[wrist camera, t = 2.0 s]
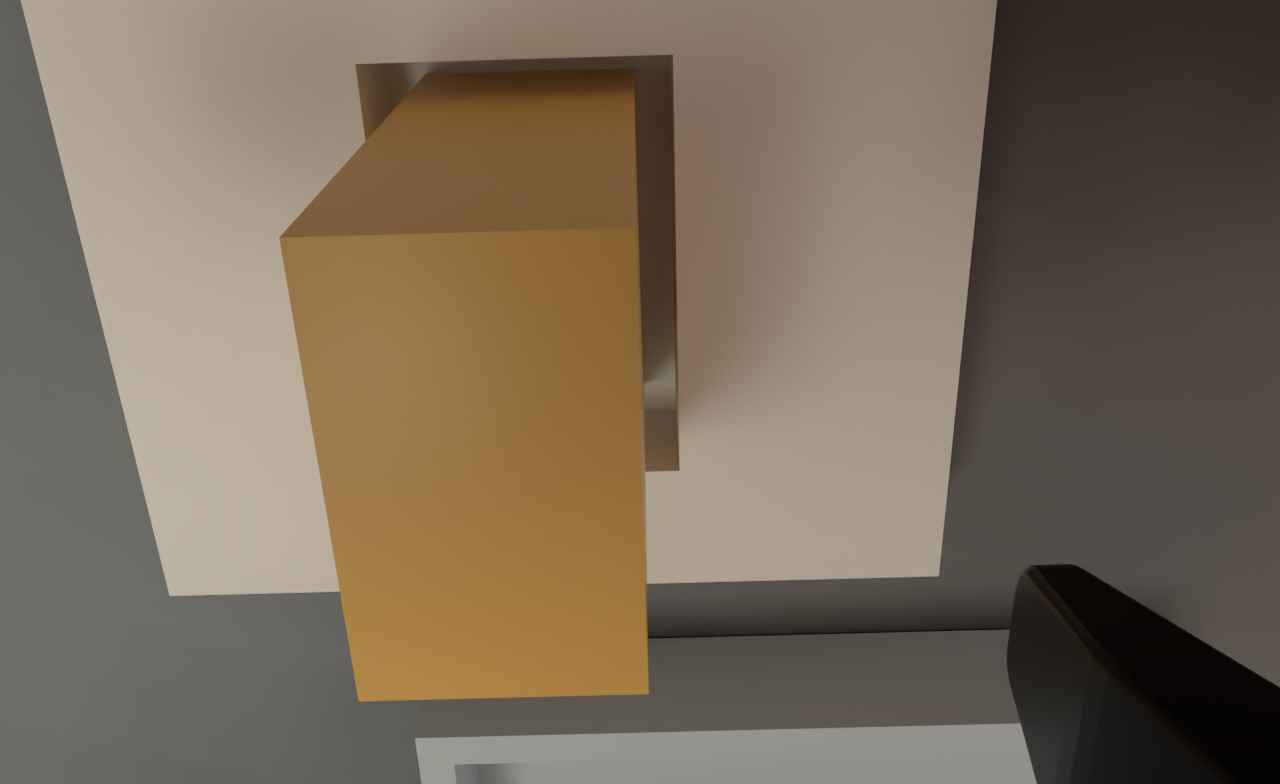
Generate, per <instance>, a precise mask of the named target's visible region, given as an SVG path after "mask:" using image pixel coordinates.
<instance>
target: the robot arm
mask: <svg viewBox="0 0 1280 784" xmlns="http://www.w3.org/2000/svg"><path fill="white" fill-rule="evenodd" d="M1007 672H1008V678H1009V683H1010V687H1011V690H1012V694H1013V698H1014V702H1015V705H1016V709H1017V713H1018V716H1019V720H1020V724H1021V727H1022V731H1023V735H1024V739H1025V742H1026V746H1027V750H1028V753H1029V757H1030V761H1031V764H1032V768H1033V772H1034V776H1035V779H1036V783H1037V784H1280V687H1278V686H1276V685H1275V684H1273V683H1271V682H1270V681H1268V680H1266V679H1265V678H1263V677H1261V676H1260V675H1258V674H1256V673H1255V672H1253V671H1252V670H1250V669H1248V668H1247V667H1245V666H1243V665H1242V664H1240V663H1238V662H1237V661H1235V660H1233V659H1232V658H1230V657H1228V656H1227V655H1225V654H1223V653H1222V652H1220V651H1218V650H1217V649H1215V648H1213V647H1212V646H1210V645H1208V644H1207V643H1205V642H1203V641H1202V640H1200V639H1198V638H1197V637H1195V636H1193V635H1192V634H1190V633H1188V632H1187V631H1185V630H1183V629H1182V628H1180V627H1178V626H1177V625H1175V624H1174V623H1172V622H1170V621H1169V620H1167V619H1165V618H1164V617H1162V616H1160V615H1159V614H1157V613H1155V612H1154V611H1152V610H1150V609H1149V608H1147V607H1145V606H1144V605H1142V604H1140V603H1139V602H1137V601H1135V600H1134V599H1132V598H1130V597H1129V596H1127V595H1125V594H1124V593H1122V592H1120V591H1119V590H1117V589H1115V588H1114V587H1112V586H1110V585H1109V584H1107V583H1105V582H1104V581H1102V580H1100V579H1099V578H1097V577H1095V576H1094V575H1092V574H1091V573H1089V572H1087V571H1086V570H1084V569H1082V568H1080V567H1078V566H1076V565H1071V564H1059V565H1030V566H1026V567H1025V568H1024V569H1023V570H1022V571H1021V572H1020V574H1019V576H1018V578H1017V581H1016V587H1015V594H1014V601H1013V609H1012V616H1011V623H1010V631H1009V638H1008V645H1007Z"/></svg>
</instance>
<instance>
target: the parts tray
mask: <svg viewBox="0 0 1280 784" xmlns="http://www.w3.org/2000/svg"><path fill="white" fill-rule="evenodd" d="M1009 631H1010V630H973V631H933V632H893V633H854V634H814V635H774V636H734V637H694V638H655V639H648V676H649V694H638V695H597V696H557V697H516V698H476V699H435V700H424V703H423V707H422V711H421V715H420V719H419V723H418V727H417V731H416V736H415V743H416V750H417V756H418V763H419V770H420V777H421V783H422V784H1037V783H1036V779H1035V776H1034V772H1033V768H1032V764H1031V761H1030V757H1029V753H1028V750H1027V746H1026V742H1025V739H1024V735H1023V731H1022V727H1021V724H1020V720H1019V716H1018V713H1017V709H1016V705H1015V702H1014V698H1013V694H1012V690H1011V687H1010V683H1009V678H1008V672H1007V645H1008V638H1009Z"/></svg>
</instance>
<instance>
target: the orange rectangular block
mask: <svg viewBox="0 0 1280 784" xmlns="http://www.w3.org/2000/svg"><path fill="white" fill-rule="evenodd" d="M279 240H280V246H281V252H282V258H283V263H284V269H285V275H286V281H287V287H288V292H289V298H290V304H291V310H292V316H293V322H294V327H295V333H296V339H297V345H298V351H299V356H300V362H301V368H302V374H303V380H304V386H305V391H306V397H307V403H308V409H309V415H310V420H311V426H312V432H313V438H314V444H315V450H316V455H317V461H318V467H319V473H320V479H321V485H322V490H323V496H324V502H325V508H326V514H327V519H328V525H329V531H330V537H331V543H332V549H333V554H334V560H335V566H336V572H337V578H338V583H339V589H340V595H341V601H342V607H343V613H344V618H345V624H346V630H347V636H348V642H349V647H350V653H351V659H352V665H353V671H354V677H355V682H356V688H357V694H358V700H359V701H395V700H435V699H476V698H516V697H557V696H597V695H638V694H649V676H648V610H647V544H646V478H645V412H644V365H643V331H642V298H641V264H640V231H639V197H638V164H637V131H636V97H635V68H616V69H582V70H548V71H515V72H481V73H448V74H425V75H424V76H423V77H422V79H421V80H420V81H419V82H418V83H417V84H416V85H415V86H414V88H413V89H412V90H411V91H410V92H409V93H408V94H407V95H406V96H405V98H404V99H403V100H402V101H401V102H400V103H399V104H398V105H397V107H396V108H395V109H394V110H393V111H392V112H391V113H390V114H389V115H388V117H387V118H386V119H385V120H384V121H383V122H382V123H381V124H380V126H379V127H378V128H377V129H376V130H375V131H374V132H373V133H372V134H371V136H370V137H369V138H368V139H367V140H366V141H365V142H364V143H363V145H362V146H361V147H360V148H359V149H358V150H357V151H356V152H355V153H354V155H353V156H352V157H351V158H350V159H349V160H348V161H347V162H346V164H345V165H344V166H343V167H342V168H341V169H340V170H339V171H338V172H337V174H336V175H335V176H334V177H333V178H332V179H331V180H330V181H329V183H328V184H327V185H326V186H325V187H324V188H323V189H322V190H321V191H320V193H319V194H318V195H317V196H316V197H315V198H314V199H313V200H312V202H311V203H310V204H309V205H308V206H307V207H306V208H305V209H304V210H303V212H302V213H301V214H300V215H299V216H298V217H297V218H296V219H295V221H294V222H293V223H292V224H291V225H290V226H289V227H288V228H287V229H286V231H285V232H284V233H283V234H282V235H281V236H280V237H279Z"/></svg>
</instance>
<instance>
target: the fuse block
mask: <svg viewBox="0 0 1280 784" xmlns="http://www.w3.org/2000/svg"><path fill="white" fill-rule="evenodd" d="M21 3H22V7H23V11H24V15H25V19H26V23H27V27H28V31H29V35H30V39H31V43H32V47H33V51H34V55H35V59H36V63H37V67H38V71H39V75H40V79H41V83H42V87H43V91H44V95H45V99H46V103H47V107H48V111H49V115H50V119H51V123H52V127H53V131H54V135H55V139H56V143H57V147H58V151H59V155H60V159H61V163H62V167H63V171H64V175H65V179H66V183H67V187H68V191H69V195H70V199H71V203H72V207H73V211H74V215H75V219H76V223H77V227H78V231H79V235H80V239H81V243H82V247H83V251H84V255H85V259H86V263H87V267H88V271H89V275H90V279H91V283H92V287H93V291H94V295H95V299H96V303H97V307H98V311H99V315H100V319H101V323H102V327H103V331H104V335H105V339H106V343H107V347H108V351H109V355H110V359H111V363H112V367H113V371H114V375H115V379H116V383H117V387H118V391H119V395H120V399H121V403H122V407H123V411H124V415H125V419H126V423H127V427H128V431H129V435H130V439H131V443H132V447H133V451H134V455H135V459H136V463H137V467H138V471H139V475H140V479H141V483H142V487H143V491H144V495H145V499H146V503H147V507H148V511H149V515H150V519H151V523H152V527H153V531H154V535H155V539H156V543H157V547H158V551H159V555H160V559H161V563H162V567H163V571H164V575H165V579H166V583H167V587H168V591H169V595H170V596H186V595H225V594H264V593H303V592H340V589H339V583H338V578H337V572H336V566H335V560H334V554H333V549H332V543H331V537H330V531H329V525H328V519H327V514H326V508H325V502H324V496H323V490H322V485H321V479H320V473H319V467H318V461H317V455H316V450H315V444H314V438H313V432H312V426H311V420H310V415H309V409H308V403H307V397H306V391H305V386H304V380H303V374H302V368H301V362H300V356H299V351H298V345H297V339H296V333H295V327H294V322H293V316H292V310H291V304H290V298H289V292H288V287H287V281H286V275H285V269H284V263H283V258H282V252H281V246H280V240H279V237H280V236H281V235H282V234H283V233H284V232H285V231H286V229H287V228H288V227H289V226H290V225H291V224H292V223H293V222H294V221H295V219H296V218H297V217H298V216H299V215H300V214H301V213H302V212H303V210H304V209H305V208H306V207H307V206H308V205H309V204H310V203H311V202H312V200H313V199H314V198H315V197H316V196H317V195H318V194H319V193H320V191H321V190H322V189H323V188H324V187H325V186H326V185H327V184H328V183H329V181H330V180H331V179H332V178H333V177H334V176H335V175H336V174H337V172H338V171H339V170H340V169H341V168H342V167H343V166H344V165H345V164H346V162H347V161H348V160H349V159H350V158H351V157H352V156H353V155H354V153H355V152H356V151H357V150H358V149H359V148H360V147H361V146H362V145H363V143H364V142H365V141H366V140H367V139H368V138H369V137H370V136H371V134H372V133H373V132H374V131H375V130H376V129H377V128H378V127H379V126H380V124H381V123H382V122H383V121H384V120H385V119H386V118H387V117H388V115H389V114H390V113H391V112H392V111H393V110H394V109H395V108H396V107H397V105H398V104H399V103H400V102H401V101H402V100H403V99H404V98H405V96H406V95H407V94H408V93H409V92H410V91H411V90H412V89H413V88H414V86H415V85H416V84H417V83H418V82H419V81H420V80H421V79H422V77H423V76H424V75H425V74H448V73H481V72H515V71H548V70H582V69H616V68H635V97H636V131H637V164H638V197H639V231H640V264H641V298H642V331H643V365H644V412H645V478H646V544H647V584H655V583H694V582H733V581H772V580H811V579H850V578H889V577H929V576H939V569H940V559H941V549H942V540H943V530H944V520H945V510H946V500H947V490H948V480H949V471H950V461H951V451H952V441H953V431H954V421H955V411H956V401H957V392H958V382H959V372H960V362H961V352H962V342H963V332H964V322H965V313H966V303H967V293H968V283H969V273H970V263H971V253H972V243H973V234H974V224H975V214H976V204H977V194H978V184H979V174H980V165H981V155H982V145H983V135H984V125H985V115H986V105H987V95H988V86H989V76H990V66H991V56H992V46H993V36H994V26H995V16H996V7H997V0H21Z"/></svg>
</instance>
